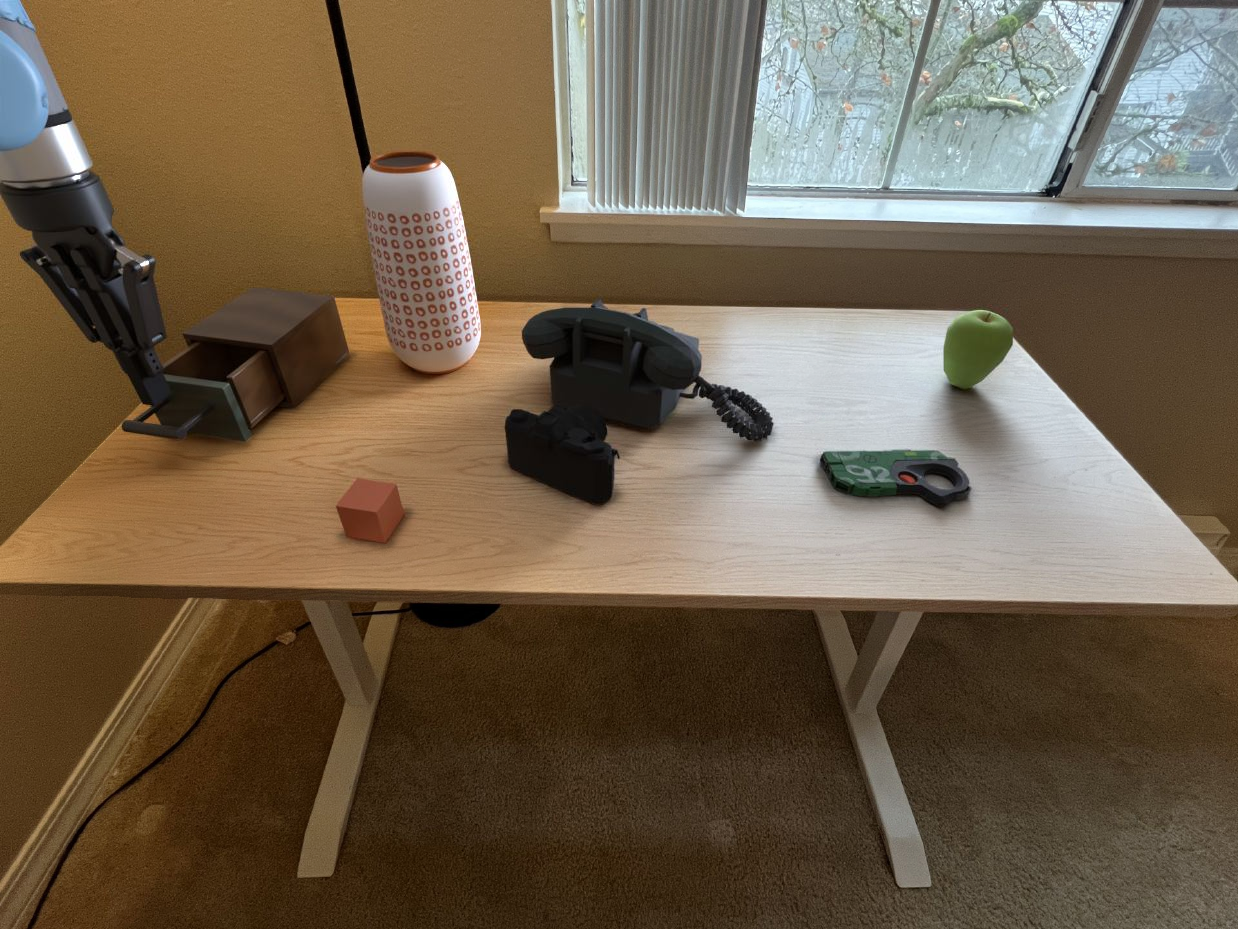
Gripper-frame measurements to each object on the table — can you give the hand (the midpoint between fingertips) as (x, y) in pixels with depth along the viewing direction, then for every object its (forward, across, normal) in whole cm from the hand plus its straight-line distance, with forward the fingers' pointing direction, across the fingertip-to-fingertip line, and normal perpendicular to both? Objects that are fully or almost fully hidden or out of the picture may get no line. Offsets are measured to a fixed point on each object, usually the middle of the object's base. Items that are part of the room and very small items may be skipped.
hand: (157, 398), depth 72 cm
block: (+9, -27, +6) cm, 29 cm away
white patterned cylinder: (+8, -20, -29) cm, 36 cm away
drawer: (+8, 0, -7) cm, 10 cm away
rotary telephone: (+8, -54, -27) cm, 61 cm away
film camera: (+9, -45, -9) cm, 47 cm away
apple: (+8, -96, -40) cm, 105 cm away
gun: (+8, -84, -14) cm, 86 cm away
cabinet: (+8, 0, -20) cm, 21 cm away
